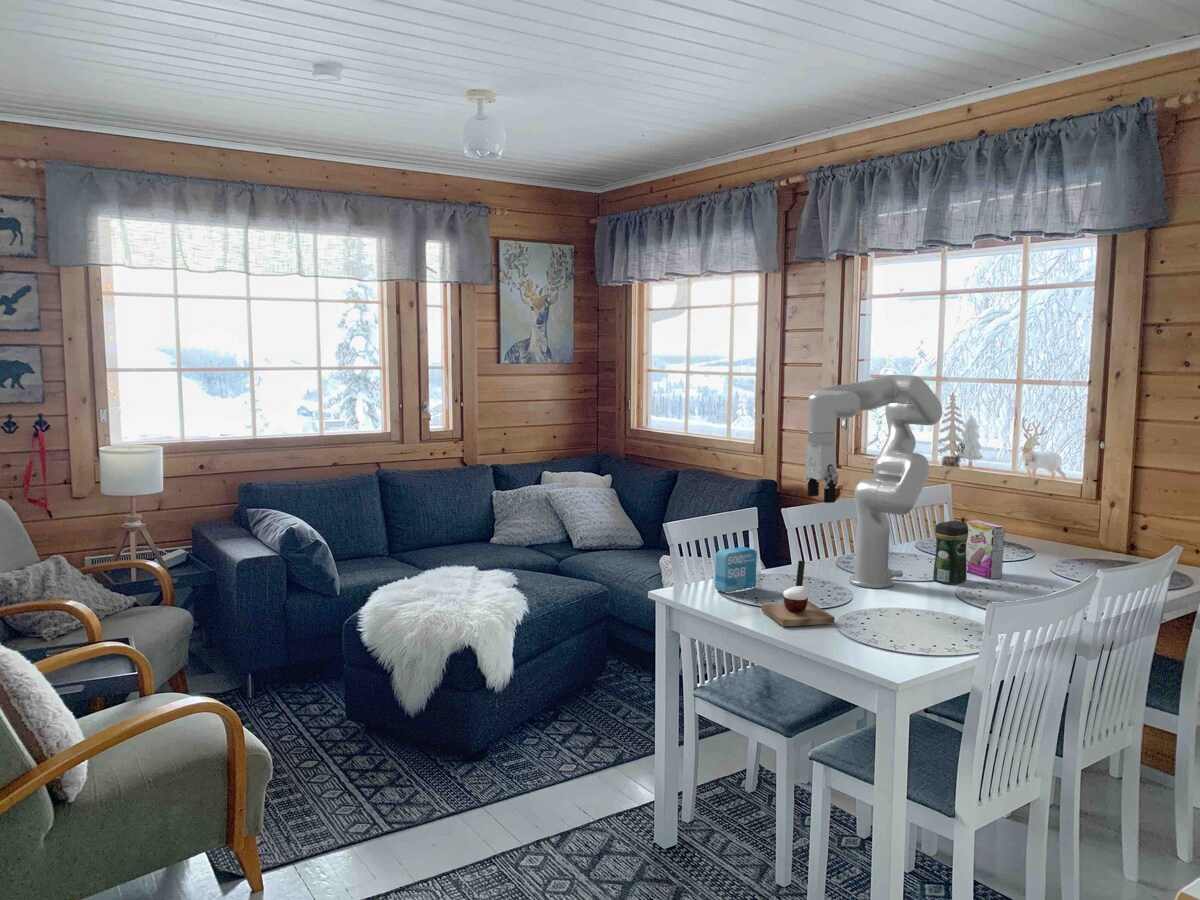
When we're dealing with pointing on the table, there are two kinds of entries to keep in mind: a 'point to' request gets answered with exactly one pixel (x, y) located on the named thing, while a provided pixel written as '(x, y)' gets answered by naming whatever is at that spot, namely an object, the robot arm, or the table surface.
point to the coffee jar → (950, 552)
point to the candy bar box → (985, 549)
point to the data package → (735, 569)
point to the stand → (797, 615)
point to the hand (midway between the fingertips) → (821, 499)
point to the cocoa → (797, 593)
